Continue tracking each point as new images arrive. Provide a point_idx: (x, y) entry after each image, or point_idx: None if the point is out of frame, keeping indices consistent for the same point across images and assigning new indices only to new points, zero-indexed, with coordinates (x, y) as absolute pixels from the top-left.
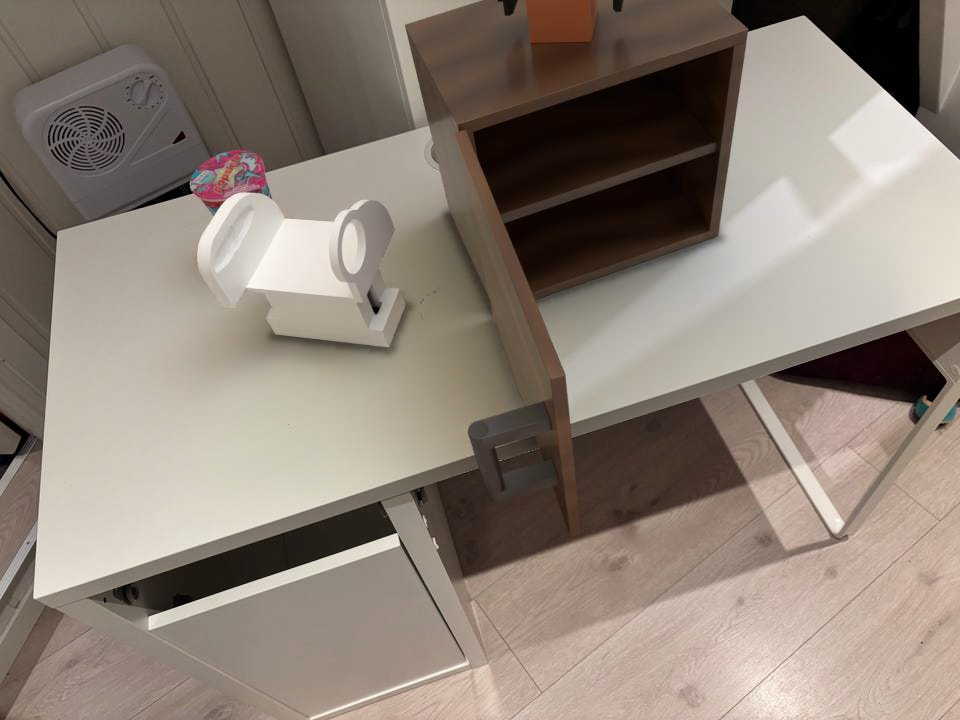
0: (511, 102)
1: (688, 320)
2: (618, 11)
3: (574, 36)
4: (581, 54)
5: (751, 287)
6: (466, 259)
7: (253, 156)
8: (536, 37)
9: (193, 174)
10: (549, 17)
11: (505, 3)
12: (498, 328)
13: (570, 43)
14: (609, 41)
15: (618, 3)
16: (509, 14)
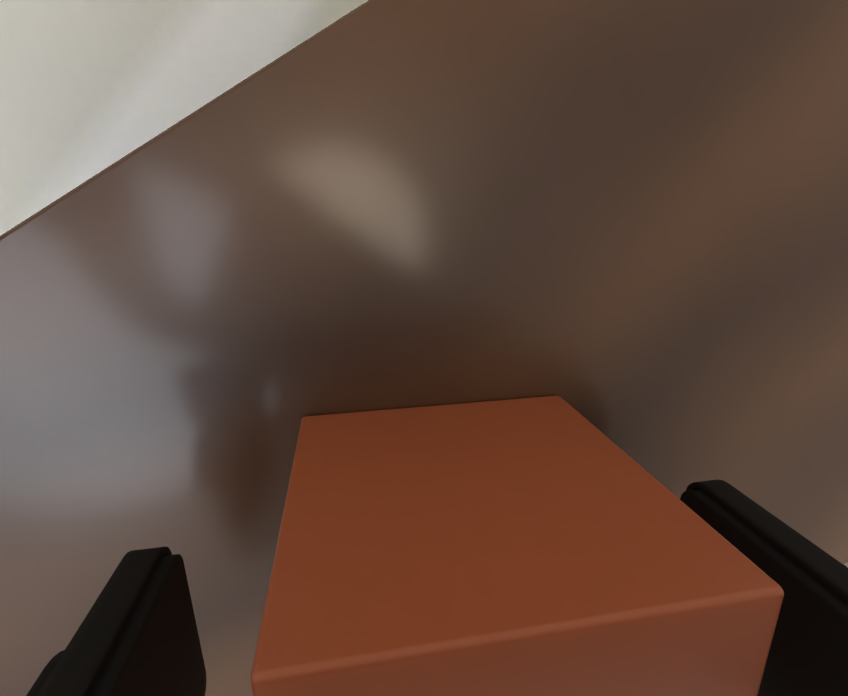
0: None
1: (137, 90)
2: (147, 549)
3: (376, 421)
4: (325, 322)
5: (44, 180)
6: None
7: None
8: (542, 405)
9: None
10: (512, 459)
11: (760, 513)
12: None
13: (391, 399)
14: (216, 422)
15: (121, 581)
16: (700, 482)
